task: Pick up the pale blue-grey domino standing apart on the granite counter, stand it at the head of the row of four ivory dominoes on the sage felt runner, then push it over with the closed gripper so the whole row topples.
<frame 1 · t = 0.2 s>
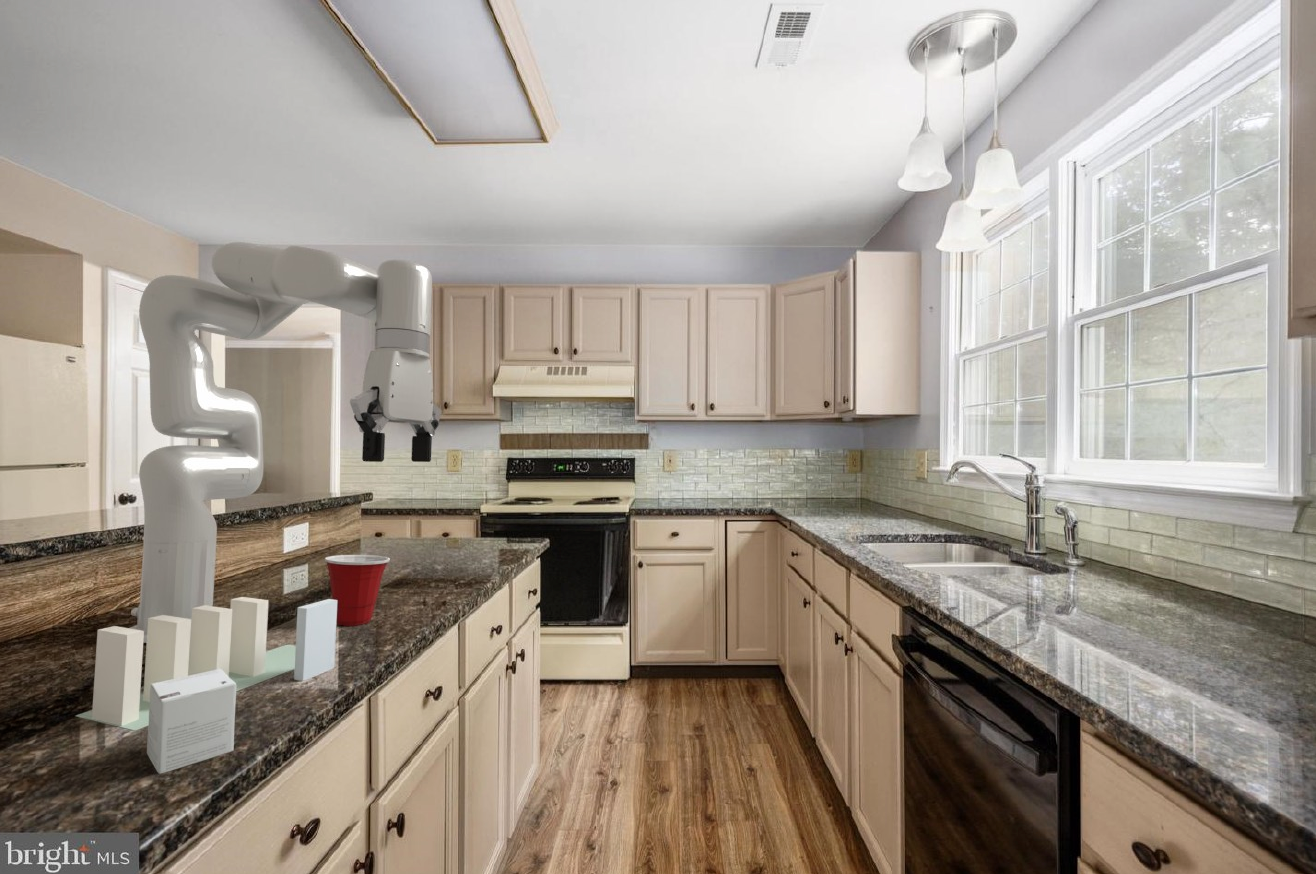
hand: (398, 461, 83), 30 cm above the countertop, tool pointing down, fingers open, 9 cm apart
skincare box: (189, 757, 58), on the countertop
domino 2: (207, 685, 74), resting on felt runner
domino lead: (314, 675, 79), on the countertop
domino 1: (245, 672, 78), resting on felt runner
domino 4: (115, 719, 64), resting on felt runner
domino 3: (164, 701, 69), resting on felt runner
plastic cup: (355, 622, 104), on the countertop
felt runner: (225, 681, 76), on the countertop
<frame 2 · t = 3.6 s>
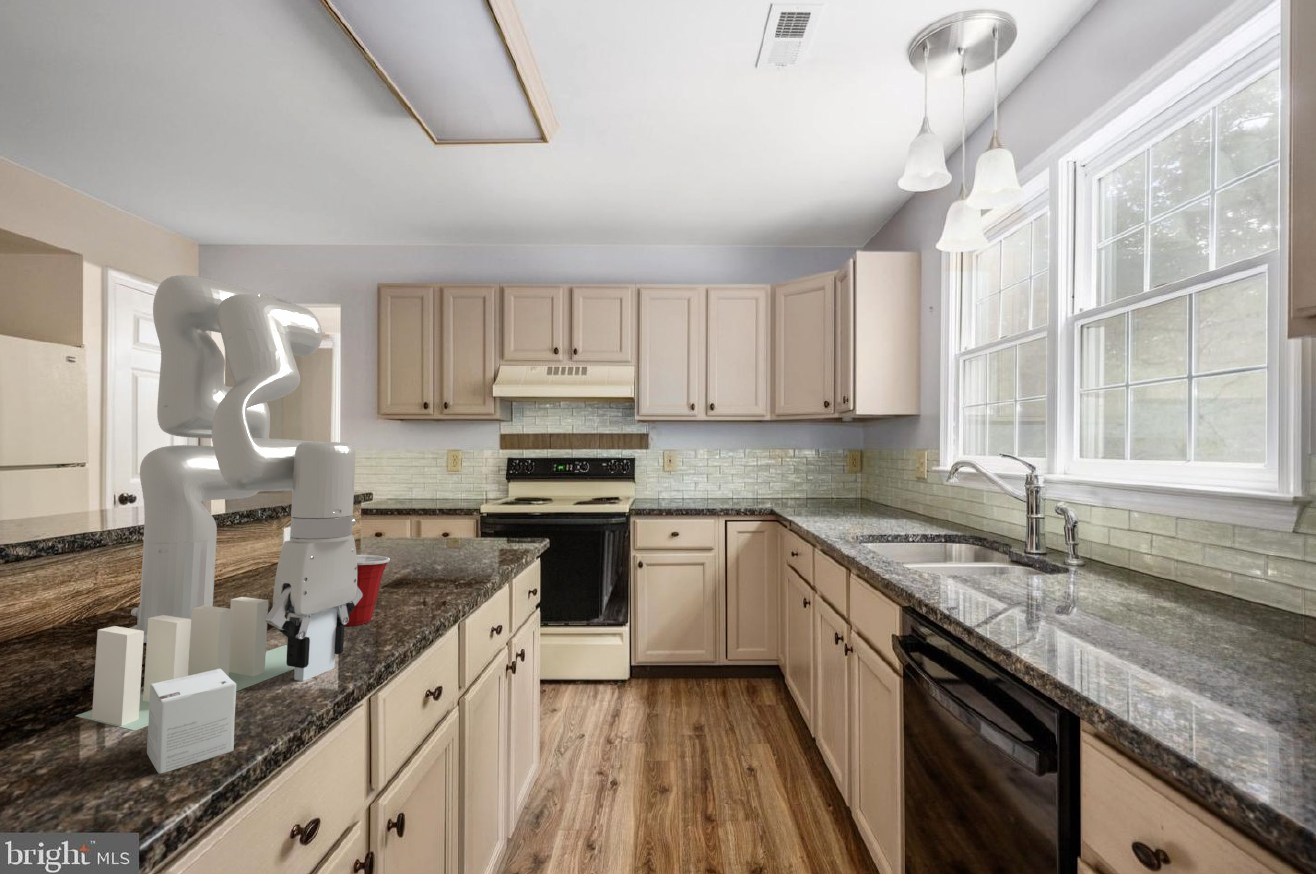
hand: (315, 657, 79), 2 cm above the countertop, tool pointing down, fingers closed on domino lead, 4 cm apart
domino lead: (314, 675, 79), on the countertop, touching gripper
everything else where it was.
when the fingers open (3 cm above the countertop, at t = 8.9 s): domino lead stays where it is, resting on felt runner.
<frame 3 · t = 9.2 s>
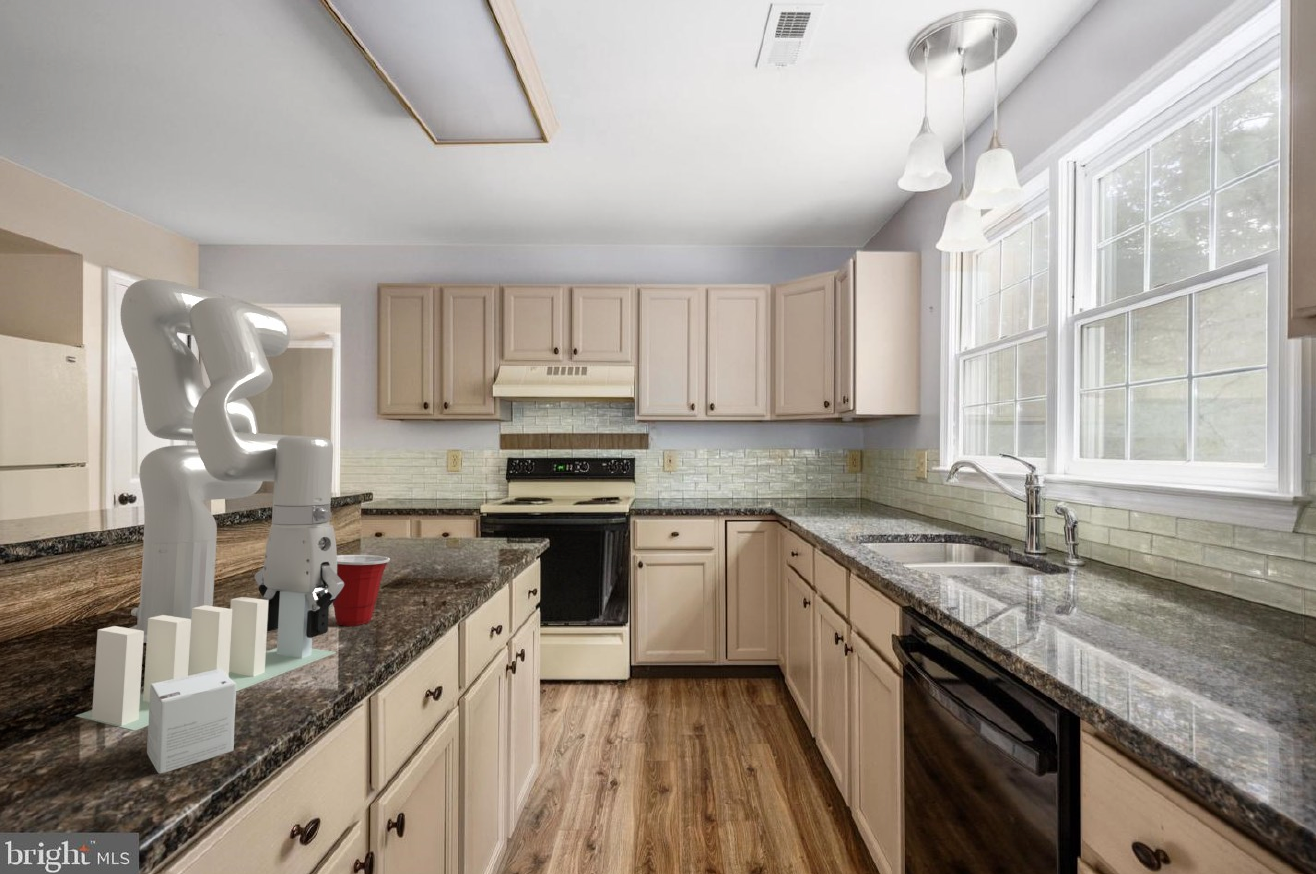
hand: (295, 631, 86), 4 cm above the countertop, tool pointing down, fingers open, 7 cm apart
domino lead: (294, 654, 85), resting on felt runner
everything else where it was.
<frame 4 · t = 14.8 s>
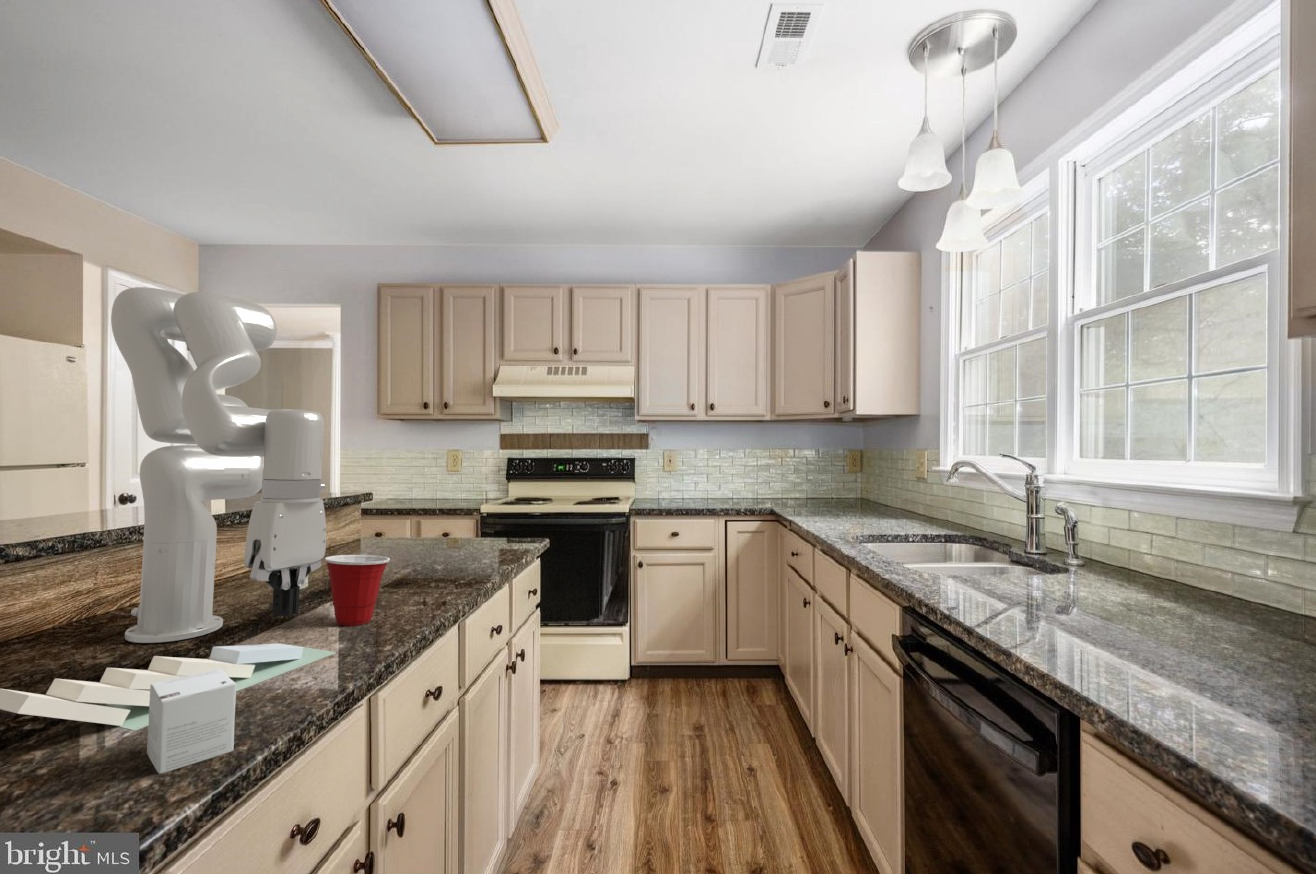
hand: (285, 613, 84), 7 cm above the countertop, tool pointing down, fingers closed
domino 2: (201, 682, 73), point 1 cm above the countertop, tilted 67°, touching felt runner
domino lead: (289, 651, 85), point 1 cm above the countertop, tilted 76°, touching domino 1, felt runner
domino 1: (239, 669, 77), point 1 cm above the countertop, tilted 69°, touching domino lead, felt runner
domino 4: (111, 714, 64), point 1 cm above the countertop, tilted 60°
domino 3: (159, 697, 68), point 1 cm above the countertop, tilted 64°, touching felt runner
everything else where it was.
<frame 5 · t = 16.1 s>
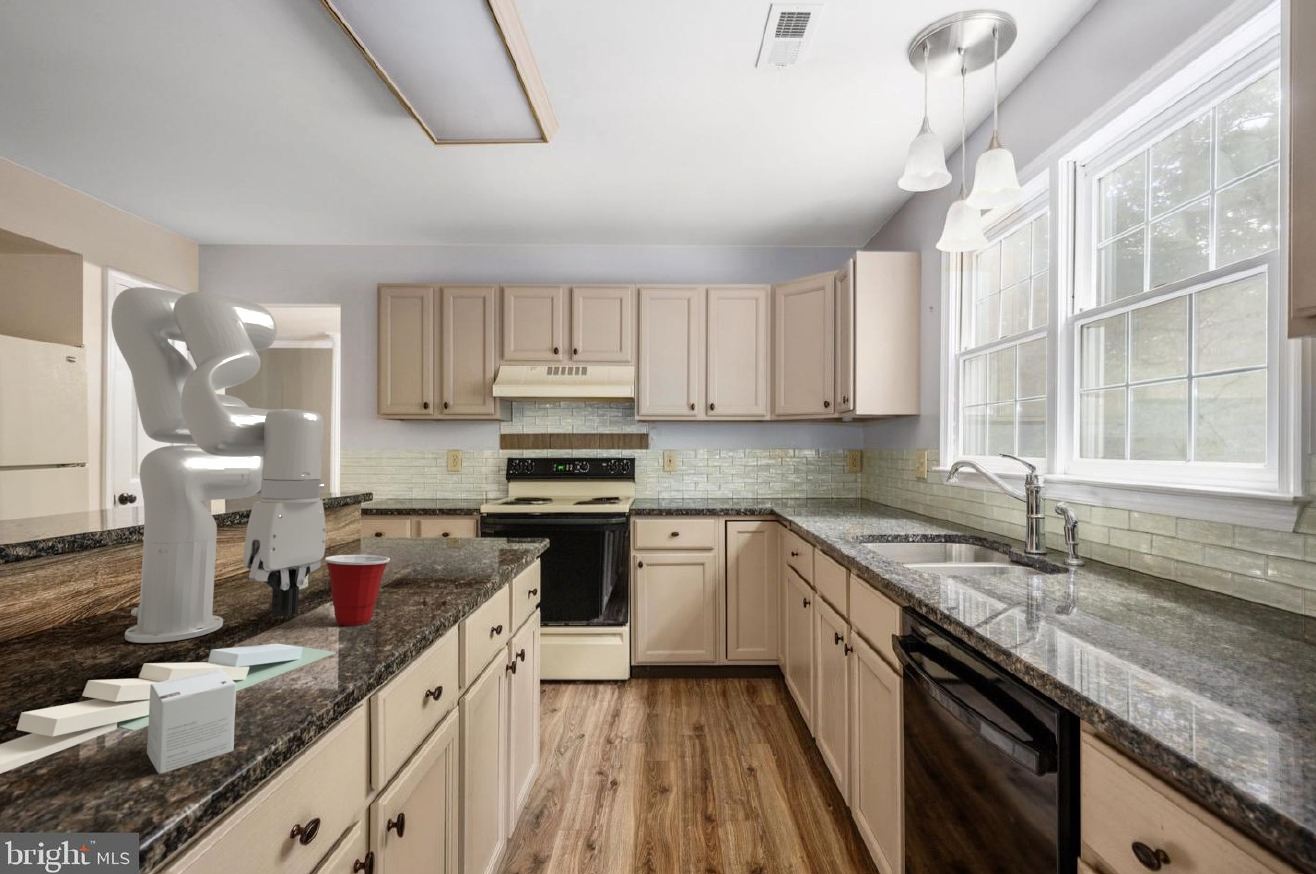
hand: (284, 614, 84), 7 cm above the countertop, tool pointing down, fingers closed
domino 2: (189, 686, 71), point 1 cm above the countertop, tilted 72°, touching domino 1, domino 3, felt runner
domino 1: (234, 670, 77), point 1 cm above the countertop, tilted 72°, touching domino 2, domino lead
domino 4: (101, 725, 62), on the countertop, tilted 90°, touching domino 3
domino 3: (143, 703, 66), point 1 cm above the countertop, tilted 79°, touching domino 2, domino 4
everything else where it was.
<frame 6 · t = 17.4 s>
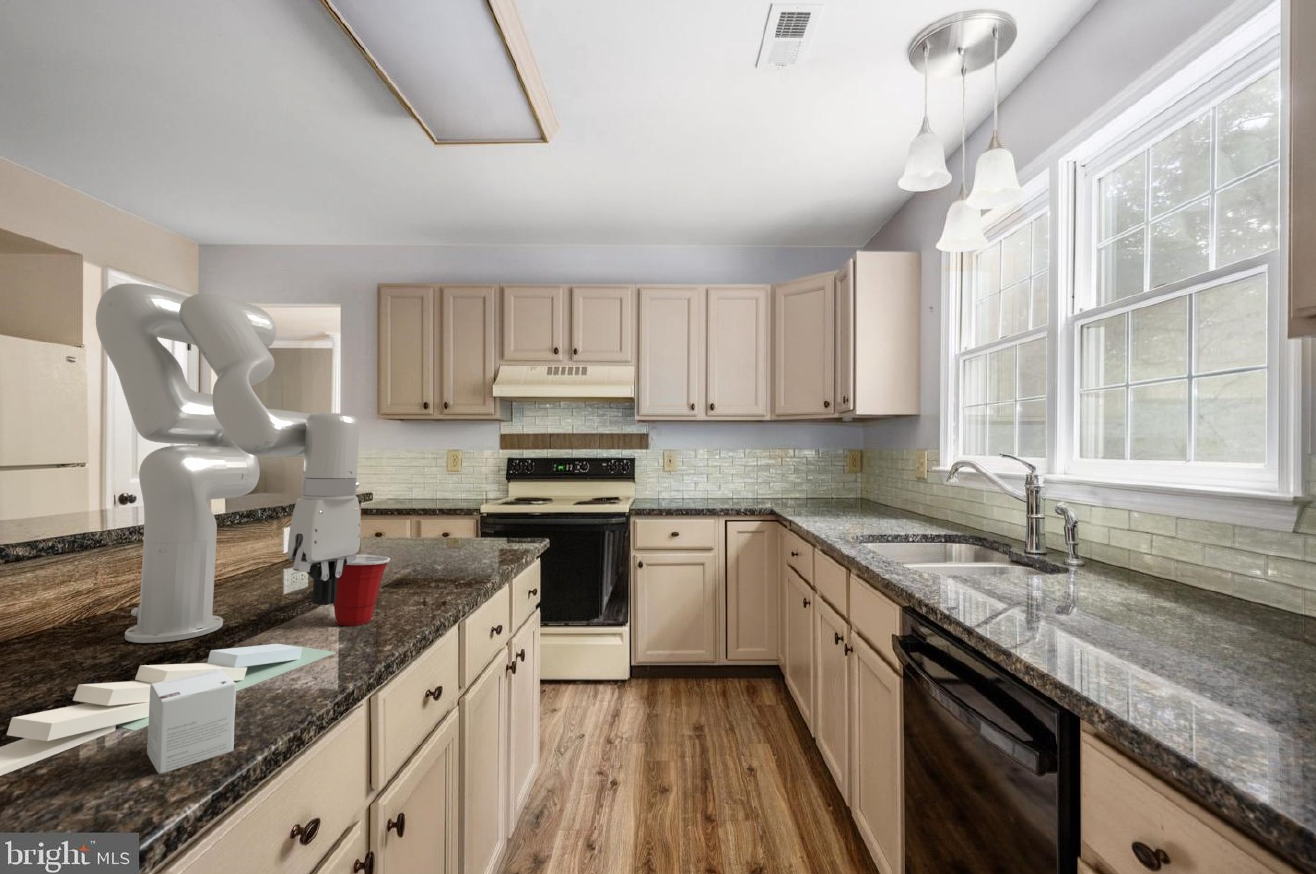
hand: (324, 603, 90), 7 cm above the countertop, tool pointing down, fingers closed
domino 2: (181, 688, 71), point 1 cm above the countertop, tilted 73°, touching domino 1, domino 3
domino 1: (232, 671, 77), point 1 cm above the countertop, tilted 74°, touching domino 2, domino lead, felt runner
domino 4: (98, 728, 62), on the countertop, tilted 90°
domino 3: (134, 706, 65), point 1 cm above the countertop, tilted 79°, touching domino 2, felt runner
everything else where it was.
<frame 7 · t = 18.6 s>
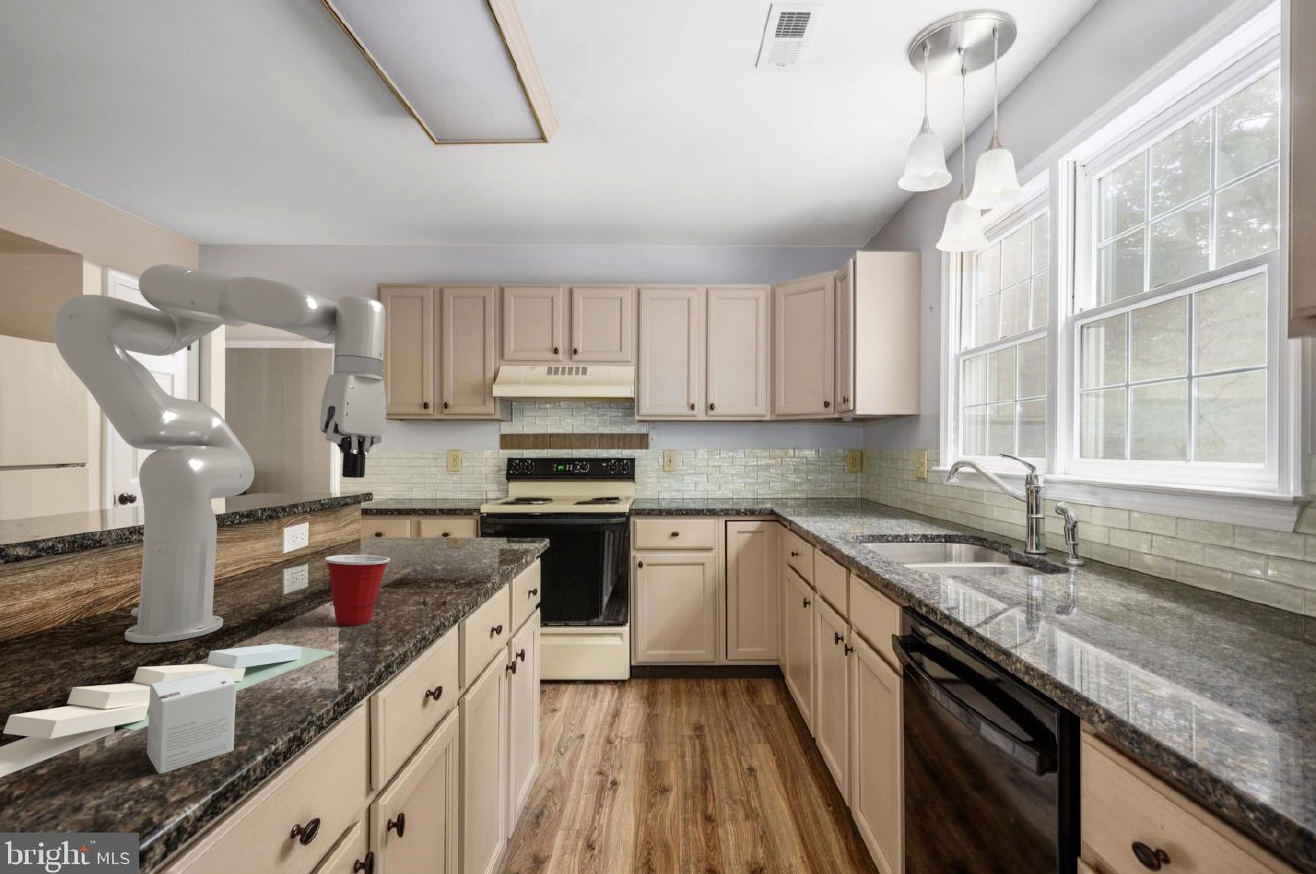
hand: (353, 477, 96), 27 cm above the countertop, tool pointing down, fingers closed
domino 2: (175, 690, 70), point 1 cm above the countertop, tilted 73°, touching domino 1, domino 3, felt runner
domino 3: (126, 709, 64), point 1 cm above the countertop, tilted 75°, touching domino 2
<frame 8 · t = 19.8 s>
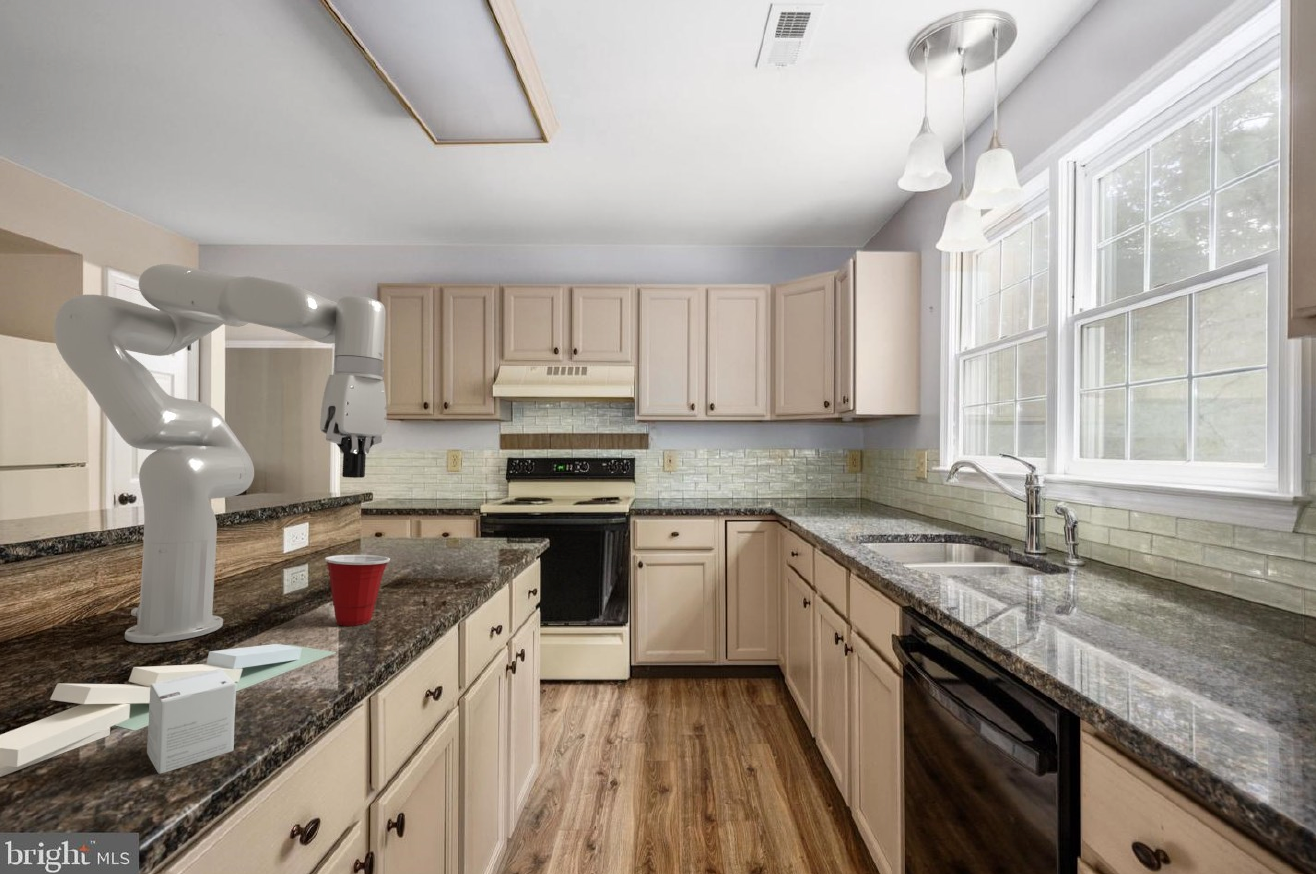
hand: (353, 477, 96), 27 cm above the countertop, tool pointing down, fingers closed
domino 2: (164, 693, 69), point 1 cm above the countertop, tilted 69°, touching domino 1
domino 4: (93, 731, 61), on the countertop, tilted 90°, touching domino 3
domino 3: (110, 709, 63), point 2 cm above the countertop, tilted 90°, touching domino 4
at the end: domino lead tilted 79°; domino 4 tilted 90° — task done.
